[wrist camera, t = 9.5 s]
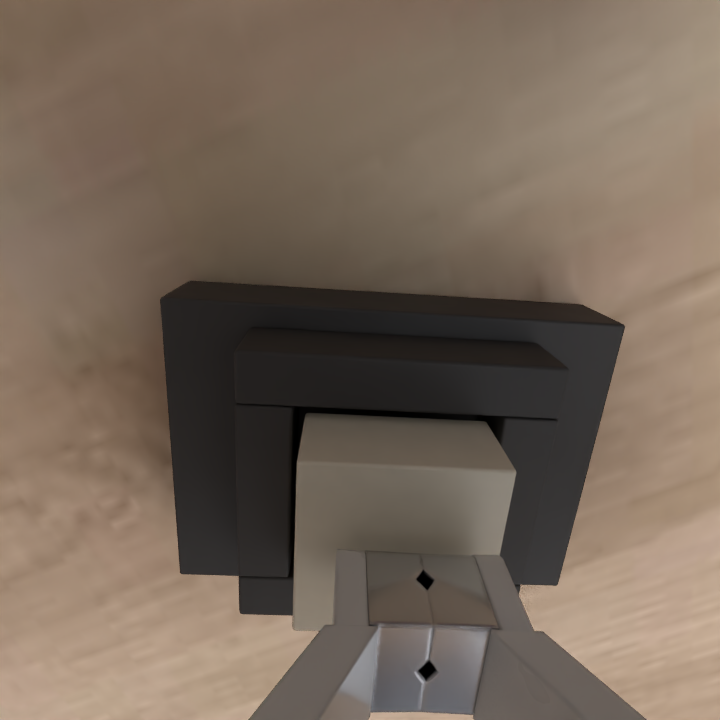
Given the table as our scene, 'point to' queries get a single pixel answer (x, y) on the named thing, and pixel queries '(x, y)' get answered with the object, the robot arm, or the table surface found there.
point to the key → (392, 496)
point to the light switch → (369, 409)
